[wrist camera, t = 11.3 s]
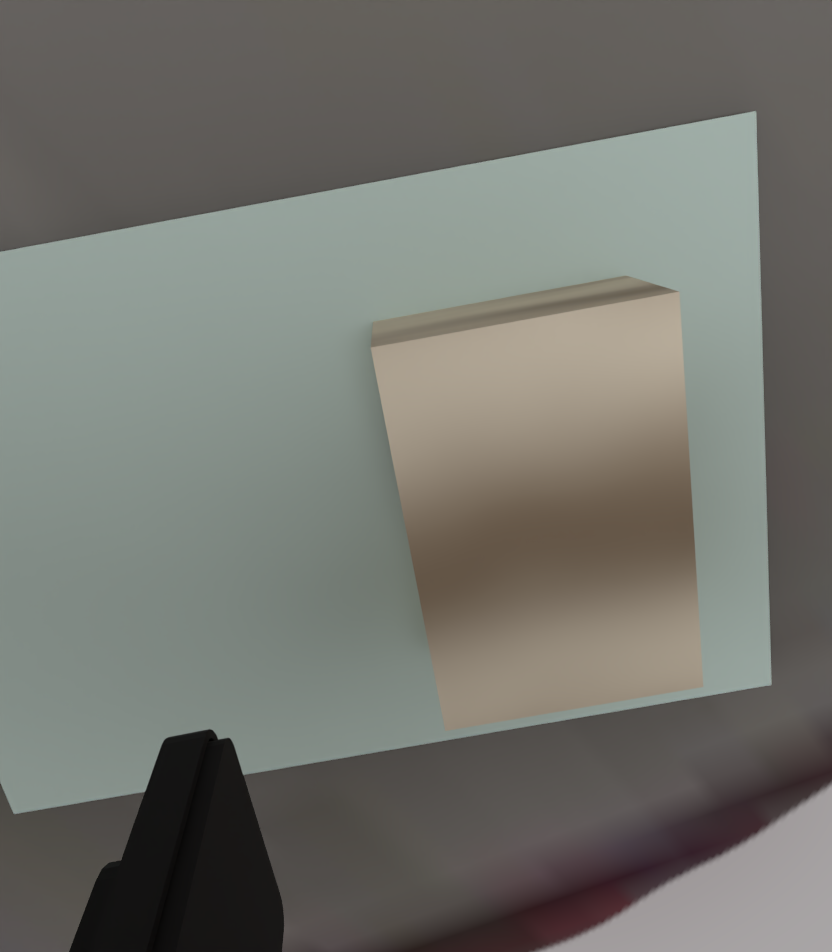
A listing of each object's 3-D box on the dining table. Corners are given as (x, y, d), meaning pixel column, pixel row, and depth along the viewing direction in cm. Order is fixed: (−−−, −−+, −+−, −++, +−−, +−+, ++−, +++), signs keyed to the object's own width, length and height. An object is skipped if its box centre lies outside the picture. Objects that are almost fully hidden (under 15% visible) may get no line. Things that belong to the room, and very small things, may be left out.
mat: (20, 804, 23) (14, 814, 23) (-201, 289, 18) (-213, 291, 18) (764, 677, 23) (771, 684, 22) (748, 112, 18) (756, 111, 17)
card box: (373, 321, 18) (370, 347, 15) (626, 275, 18) (679, 291, 15) (435, 649, 21) (445, 730, 18) (653, 611, 21) (703, 686, 18)
